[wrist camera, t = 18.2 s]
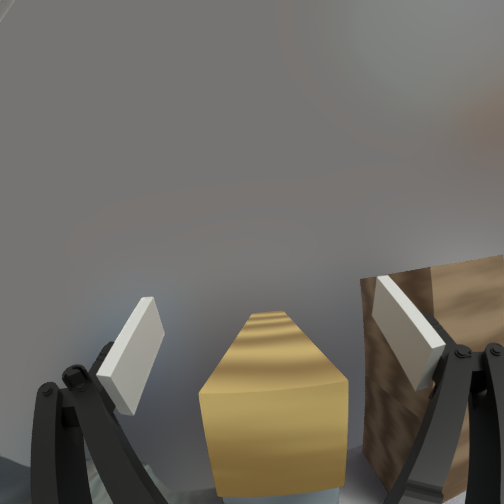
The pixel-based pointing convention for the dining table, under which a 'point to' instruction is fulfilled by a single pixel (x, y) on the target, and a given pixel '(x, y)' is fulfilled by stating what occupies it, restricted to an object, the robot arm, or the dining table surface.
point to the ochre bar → (275, 413)
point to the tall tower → (415, 402)
